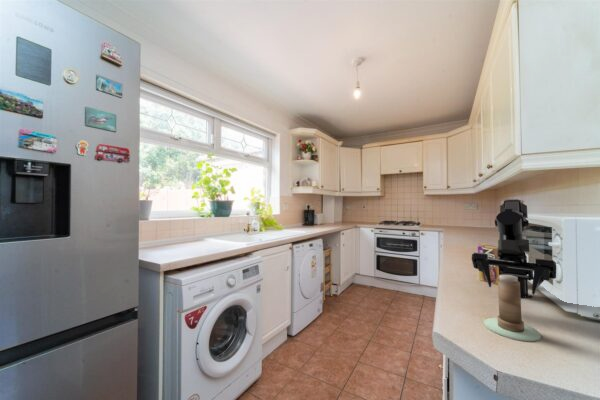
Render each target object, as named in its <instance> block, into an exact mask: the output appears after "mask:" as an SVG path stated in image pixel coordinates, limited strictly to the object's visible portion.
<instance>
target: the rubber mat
mask: <svg viewBox="0 0 600 400" xmlns="http://www.w3.org/2000/svg"><path fill="white" fill-rule="evenodd" d="M483 324H484V326H485V328H486V329H487V330H489V331H490V332H493V333H494V334H495V335H496V334H497V335H499V336H501V337H505V338H508V339H511V340H515V341H521V342H537V341H540V340H541V338H542V337H541V335H542V334H541V333H540V331H538V330H537V329H535V328H534V327H533V326H530V325H528V324H526V323H524V332H521V333H517V332H511V331H508V330H505V329H502V328H501V327H499V326H498V318H497V317H489V318H486V319H484V321H483Z"/></svg>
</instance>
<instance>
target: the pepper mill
mask: <svg viewBox="0 0 600 400" xmlns="http://www.w3.org/2000/svg"><path fill="white" fill-rule="evenodd" d="M499 277H500V279H498V284H497V291H498V292H497V294H498V313H499V314H498V315H497V317H496V318H498V326H499V327H501V328H502V329H505V330H508V331H511V332H517V333H521V332H524V324H525V322H524V321H523V320H522V318H523V317H522V300H521V299H522V297H521V295H520V282H519V281H518V277H516V276H512V275H499Z"/></svg>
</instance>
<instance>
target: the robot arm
mask: <svg viewBox="0 0 600 400" xmlns="http://www.w3.org/2000/svg"><path fill="white" fill-rule="evenodd" d="M528 217H529V216H528V205H526V204H525V203H522V200H520V199H506V200H504V201H503V204H501V205H500V206H499V213H498V214H497V215H496V217H495V219H494V226H495V227H496V228H497V231H498V233H499V237H498V238H499V239H498V241H497V246H498V252H497V255H498V257H499V259H493V258H488V254H485V253H478V252H473V253H472V254H471V261H472V266H473V268H474V269H476V270H478V272H479V271H481V272H483V274H484V275H485V277H486V279H487V282H486V283H487V284H488V287H489V288H492V283H491V276H490V269H489V265H496V266H498V268H499V275H512V276H516V277H518V281H519V282H520V295H521V298H533V295H535V294H536V292H537V290H538V289H539V287H540V285H542V283H544V281H550V280H551V279H552V280H554V279H557V262H555V260H553V259H549V258H547V259H546V258H539V257H537V258H535V262H530V261H529V262H528V260H527V259H528V257H527V255H526V254H527V253H529V252H530V239H523V237H524V235H523V232H524V231H525V230H524V229H527V228H528V226H529V225H530V224H529V220H528V219H529V218H528ZM526 252H527V253H526ZM529 281H532V284H531V285H532V286H531V294H530V293H529V287H528V286H529V284H528V283H529Z"/></svg>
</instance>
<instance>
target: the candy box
mask: <svg viewBox="0 0 600 400" xmlns="http://www.w3.org/2000/svg"><path fill="white" fill-rule="evenodd" d="M497 252H498V245H493V244H484V243H480V244H477V253H485V254H488V258H493V259H499V257H498V255H497ZM489 269H490V276H491V284H493V285H494V284H496V285H498V279H500V277H499V268H498V266H496V265H489ZM478 280H479V281H480V282H481V281H482V282H486V283H488V282H487V279H486V277H485V275H484V274H483V272H481V271H479V270H478Z"/></svg>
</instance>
